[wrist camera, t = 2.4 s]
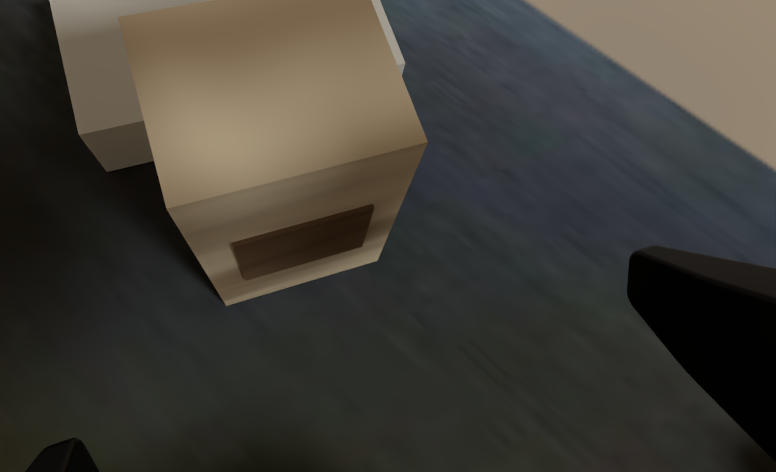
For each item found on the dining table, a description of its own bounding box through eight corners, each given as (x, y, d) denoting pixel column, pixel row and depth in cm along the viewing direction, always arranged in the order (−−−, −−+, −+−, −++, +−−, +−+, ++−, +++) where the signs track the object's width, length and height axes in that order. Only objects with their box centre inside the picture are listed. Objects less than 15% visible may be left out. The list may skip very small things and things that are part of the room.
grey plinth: (393, 104, 25) (405, 63, 22) (106, 172, 23) (78, 134, 20) (351, -6, 27) (356, -57, 24) (77, 45, 24) (47, -6, 21)
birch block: (378, 264, 23) (429, 147, 14) (227, 309, 22) (168, 215, 12) (338, 151, 24) (360, -27, 15) (194, 187, 23) (117, 17, 14)
